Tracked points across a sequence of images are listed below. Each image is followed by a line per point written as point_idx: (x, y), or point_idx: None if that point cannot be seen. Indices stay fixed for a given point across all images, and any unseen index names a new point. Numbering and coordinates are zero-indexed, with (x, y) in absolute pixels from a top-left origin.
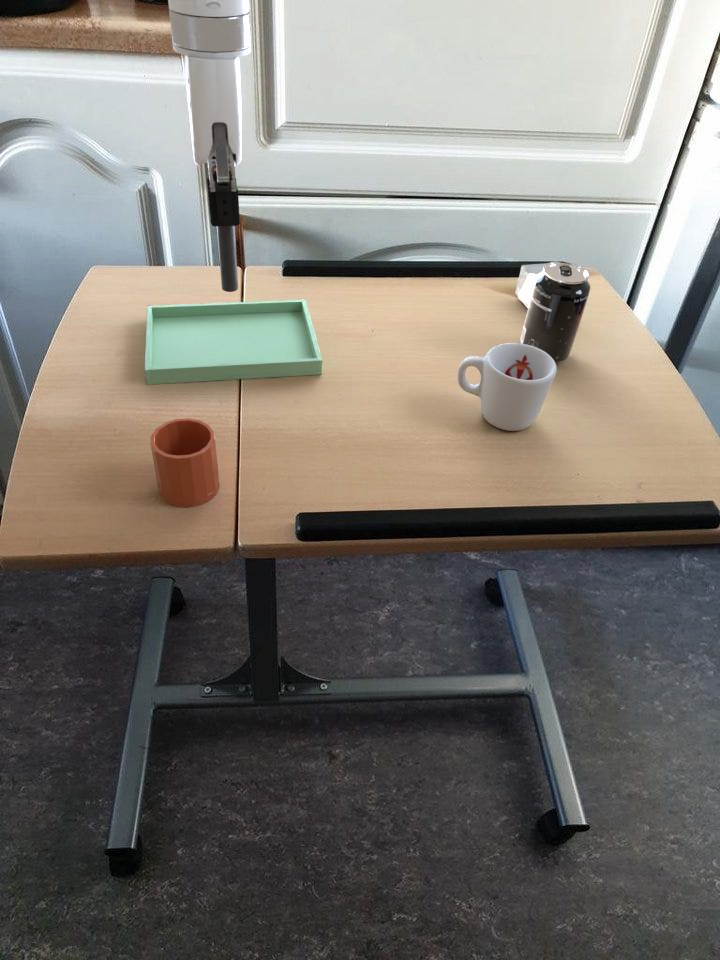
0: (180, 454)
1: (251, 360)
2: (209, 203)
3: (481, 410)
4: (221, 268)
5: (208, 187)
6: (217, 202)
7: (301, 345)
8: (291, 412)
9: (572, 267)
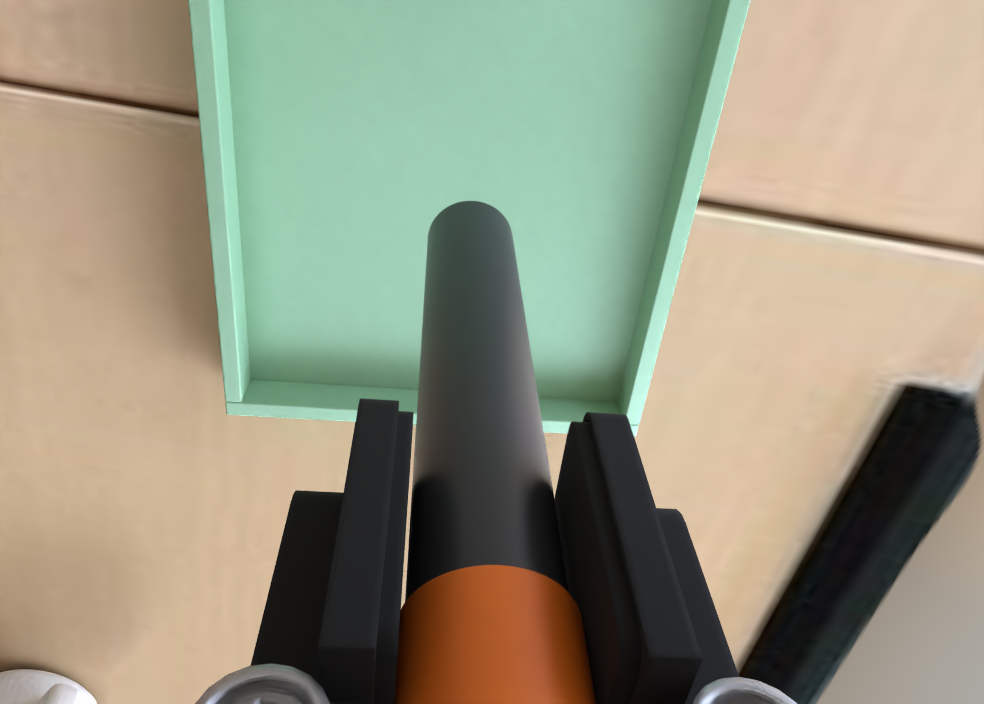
0: None
1: (315, 184)
2: (339, 531)
3: (33, 676)
4: (453, 257)
5: (629, 593)
6: (266, 614)
7: (396, 361)
8: (15, 255)
9: None
